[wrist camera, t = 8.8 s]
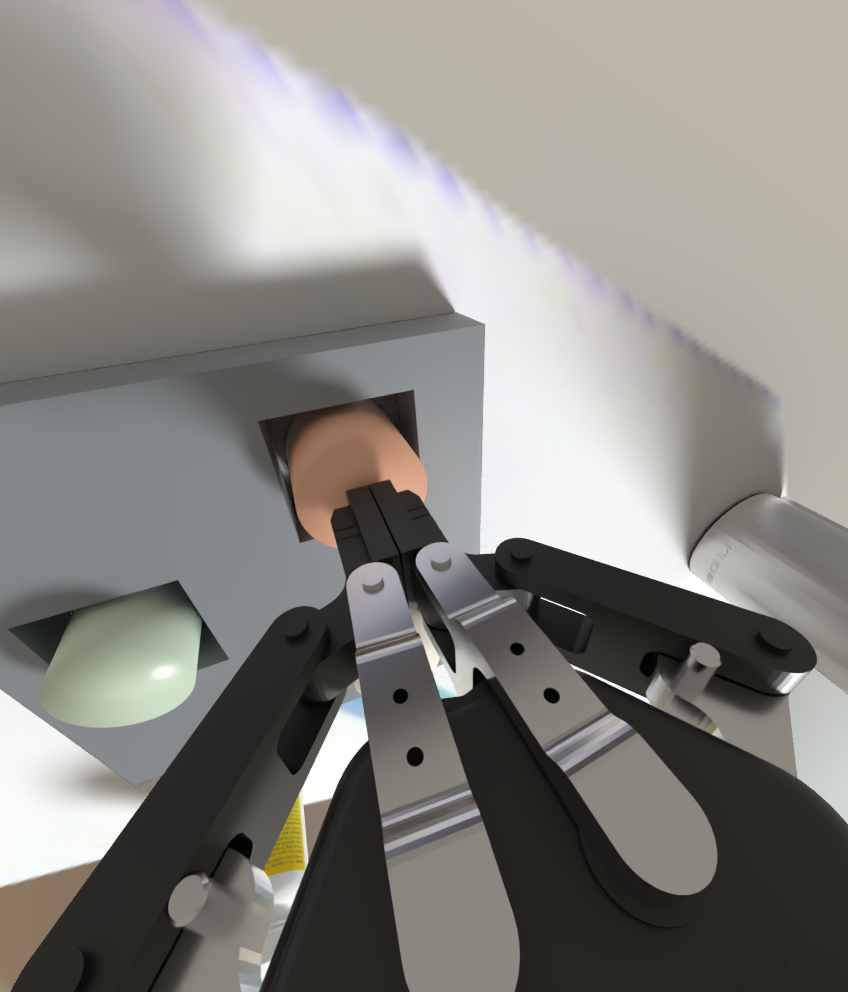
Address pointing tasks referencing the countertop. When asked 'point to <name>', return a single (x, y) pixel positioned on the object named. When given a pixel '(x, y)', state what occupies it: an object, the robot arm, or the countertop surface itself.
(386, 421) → the terracotta button
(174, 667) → the sage button
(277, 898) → the supplement bottle
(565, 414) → the countertop surface
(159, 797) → the robot arm
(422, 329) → the panel
